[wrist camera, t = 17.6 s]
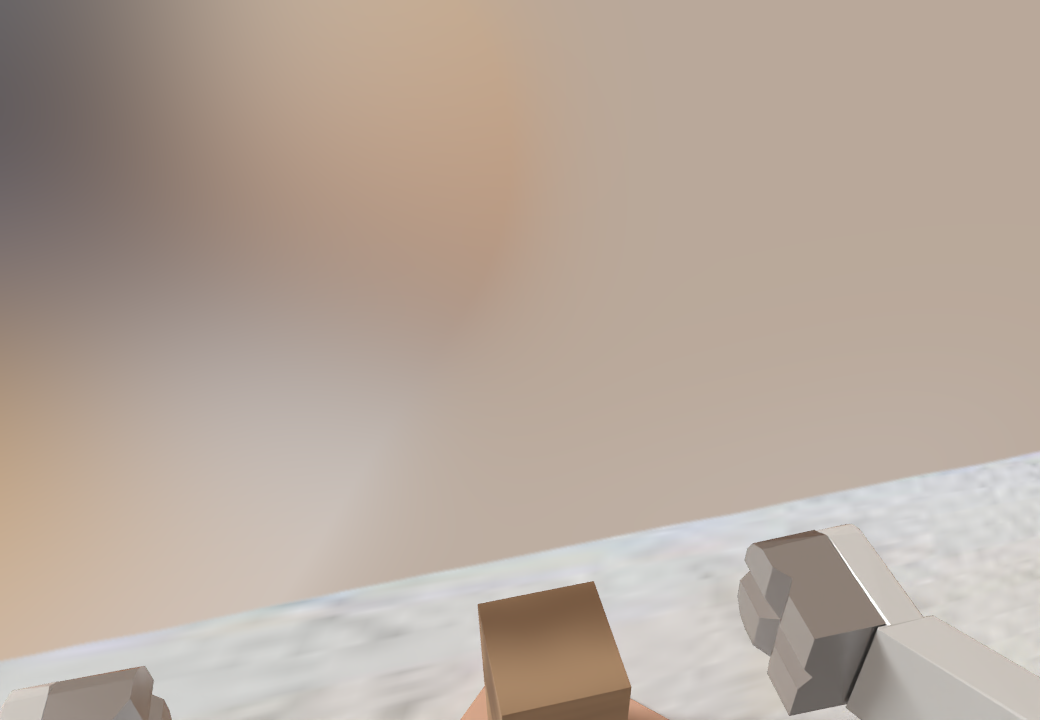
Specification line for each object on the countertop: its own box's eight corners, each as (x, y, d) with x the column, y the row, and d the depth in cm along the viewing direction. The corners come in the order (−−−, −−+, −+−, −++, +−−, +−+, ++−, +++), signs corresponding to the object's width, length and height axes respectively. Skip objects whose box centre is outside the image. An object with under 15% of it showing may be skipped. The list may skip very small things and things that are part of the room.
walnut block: (617, 808, 38) (631, 687, 31) (509, 835, 37) (501, 715, 31) (587, 706, 41) (593, 580, 35) (488, 728, 41) (477, 604, 34)
